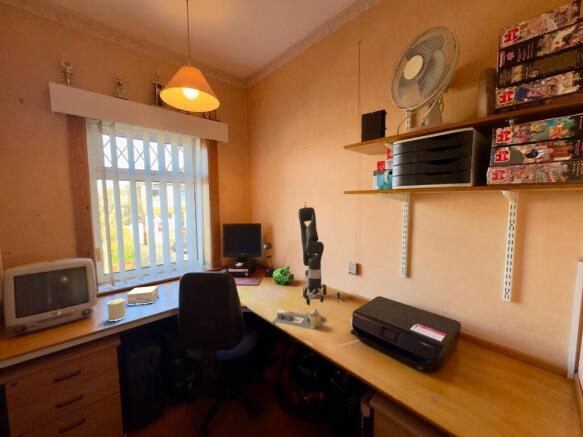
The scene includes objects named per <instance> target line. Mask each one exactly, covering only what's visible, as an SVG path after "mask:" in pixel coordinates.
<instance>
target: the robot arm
mask: <svg viewBox="0 0 583 437" xmlns="http://www.w3.org/2000/svg"><path fill="white" fill-rule="evenodd" d="M314 208H315V207H311V206H309V207H301V208H299V209H298V214H297V215H298V220H299V225H300V226H299V227H300V237H301V245H302V260H303V261H302V262H303V266H306V267H308V269H306V270H305V272H304V273H305V274H304V276H305V278H304V279H305V284H304V285H305V286H303V288H302V291H303V292H302V297H303V298H304V299H306V305H308V306H310V305H311V299H316V298H318V294H319V302H320V303H324V300H325V299H324V298H325V296H326V295H327V294H328V292H327V291H328V290H327V285H326V284H324V283H322V256H323V254H324V250H325V246H324V243H323V242H322V241H319V234H318V233H319V232H318V230H317V218H316V211H315V209H314ZM305 222H309V223H308V225H307V224H306V223H305Z"/></svg>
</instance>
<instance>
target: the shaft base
mask: <svg viewBox="0 0 583 437" xmlns="http://www.w3.org/2000/svg"><path fill="white" fill-rule="evenodd" d="M316 312H317V313H318V314H319V315H320V316H321V313H320V312H319V311H318V309H317V308H313V309H312V310H311V312H305V314H303V313H297V312H294V311H290V310H286V309H285V310H284V309H277V314H276V317H275V318H274V320H273V321H272V324H274V325H275V324H276V323H277V324H278V323H279V324H283V325H289V326H294V327H297V328H298V327H300V328H304V329H305V328H306V329H310V330H315V331H318V332H319V331H320V332H321V331H322V328H323V326H324V325H325V323H326V321H327V319H328V318H327V317H326V318H325V317H321V327H320V328H316V329H313V328H312V327H311V326H310V314H312V313H316ZM277 324H276V325H277Z"/></svg>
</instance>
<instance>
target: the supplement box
mask: <svg viewBox="0 0 583 437" xmlns="http://www.w3.org/2000/svg"><path fill="white" fill-rule="evenodd" d="M158 296H159V286H158V285H155V286H143V287H134V288H133V289H131V290H130V291H129V292H128V293H127V294H126V299H127V305H128V304H136V303H148V302H153V301H154V300H155V299H156V298H157V297H158ZM159 297H160V296H159ZM159 297H158V298H159ZM158 298H157V299H158ZM157 299H156V300H157Z"/></svg>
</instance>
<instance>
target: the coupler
mask: <svg viewBox="0 0 583 437" xmlns="http://www.w3.org/2000/svg"><path fill="white" fill-rule="evenodd" d="M317 312H318V311H317ZM317 312H316V313H312V314H311V313H310V326H311V327H312V328H313V329H312V330H314V329H316V328H320V327H321V318H322V317H321V316H320V315H321V314H320V315H319V314H318V313H317Z"/></svg>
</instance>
